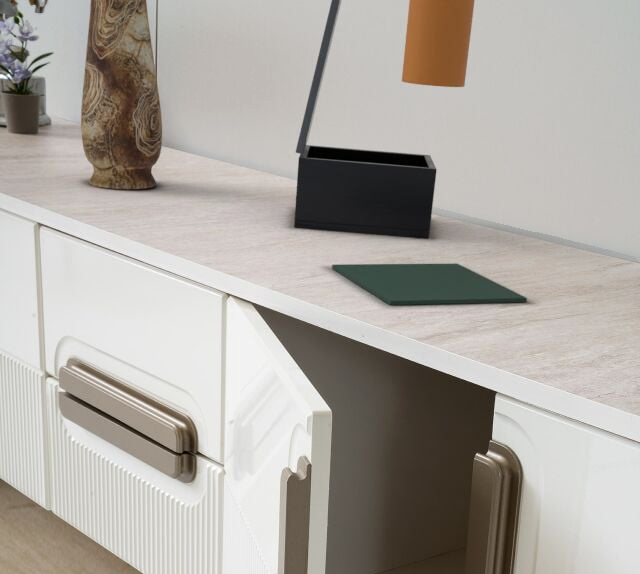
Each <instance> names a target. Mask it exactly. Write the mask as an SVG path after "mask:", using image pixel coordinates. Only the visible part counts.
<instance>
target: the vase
mask: <svg viewBox="0 0 640 574" xmlns="http://www.w3.org/2000/svg"><path fill="white" fill-rule="evenodd" d="M89 7H90V8H89V9H90V10H89V19H88V20H89V22H88V32H87V43H86V52H85V54H86V55H85V63H84V64H85V65H84V74H83V86H82V95H81V97H82V98H81V108H80V109H81V112H80V113H81V115H80V120H81V121H80V130H81V132H80V133H81V141H82V142H81V143H82V149H83V151H84V155H85V158H86V159H87V161H88V162H89V163H90V164H91V165H92V167H93V171H92V175H91V177H90V179H89V181H88V183H89V185H91V186H93V187H96V188H105V189H113V190H114V189H116V190H143V189H152V188H155V187H156V186H157V185H158V183H157V181H156V179H155V177H154V175H153V173H152V171H153V170H152V169H153V166H154V165H156V164H157V162H158V160H159V158H160V157H161V153H162V146H163V145H162V144H163V122H162V120H163V119H162V108H161V101H160V94H159V93H160V92H159V86H158V81H157V73H156V66H155V59H154V51H153V46H152V45H153V44H152V39H151V30H150V23H149V14H148V5H147V0H90V5H89Z"/></svg>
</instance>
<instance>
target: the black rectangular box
mask: <svg viewBox="0 0 640 574" xmlns="http://www.w3.org/2000/svg"><path fill="white" fill-rule="evenodd" d="M296 178H297V179H296V180H297V181H296V182H297V183H296V193H295V194H296V195H295V209H294V222H293V223H294V224H293V226H294V228H299V229H313V230H324V231H334V232H335V231H336V232H348V233H359V234H372V235H385V236H395V237H407V238H421V239H429V238H430V231H431V224H432V214H433V206H434V205H433V204H434V198H435V197H434V196H435V189H436V178H437V167H436V165H435V163H434V160H433V158H432V156H431V154H419V153H407V152H395V151H382V150H372V149H360V148H359V149H358V148H348V147H336V146H321V145H311V144H306V147H305V149H304V152H303V154H300V153H299V156H298V163H297V177H296Z"/></svg>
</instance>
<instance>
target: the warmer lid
mask: <svg viewBox="0 0 640 574" xmlns="http://www.w3.org/2000/svg"><path fill="white" fill-rule="evenodd" d="M330 1H331V2H330V5H329V11H328V14H327V19H326V23H325V28H324V31H323V35H322V39H321V44H320V48H319V52H318V56H317V60H316V65H315V69H314V72H313V73H314V74H313V76H312V81H311V86H310V90H309V94H308V98H307V102H306V107H305V110H304V115H303V119H302V124H301V127H300V132H299V136H298V140H297V144H296V148H295V153H296V154H299V155H300V154H303V152H304V149H305V147H306V145H308V142H309V138H310V133H311V129H312V125H313V121H314V117H315V113H316V112H315V111H316V108H317V104H318V99H319V97H320V92H321V88H322V83H323V80H324V75H325V72H326V71H325V70H326V67H327V63H328V59H329V55H330V50H331V47H332V42H333V38H334V33H335V29H336V25H337V22H338V18H339V13H340V9H341V6H342V1H343V0H330Z"/></svg>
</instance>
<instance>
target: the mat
mask: <svg viewBox="0 0 640 574" xmlns="http://www.w3.org/2000/svg"><path fill="white" fill-rule="evenodd" d="M331 269H332V270H334V271H336V273H338V274H340V275H342V276H343V277H344V278H347V280H349V281H351V282H352V283H354V284H355V285H357V286H359V287H361V288H362V289H364V290H365V291H366V292H368V293H370V294H372V295H373V296H375V297H376V298H377V299H380V300H381V301H382V302H384V303H386V304H387V305H389V306H411V305H413V306H415V305H417V306H418V305H453V304H455V305H457V304H461V305H462V304H497V303H499V304H500V303H501V304H503V303H505V304H506V303H527V302H528V301H527V300H528V297H526V296H524V295H522V294H520V293H517V292H516V291H514V290H512V289H510V288H508V287H506V286H503V285H501V284H500V283H498V282H496V281H493V280H491V279H489V278H488V277H486V276H483V275H481V274H479V273H478V272H475V271H474V270H471V269H470V268H467V267H465V266H464V265H461V264H459V263H370V264H369V263H367V264H366V263H365V264H364V263H362V264H360V263H359V264H358V263H357V264H355V263H353V264H346V263H345V264H331Z"/></svg>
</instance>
